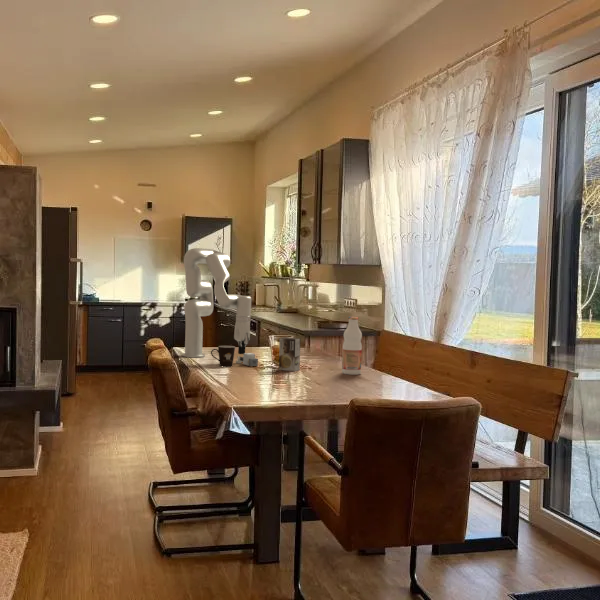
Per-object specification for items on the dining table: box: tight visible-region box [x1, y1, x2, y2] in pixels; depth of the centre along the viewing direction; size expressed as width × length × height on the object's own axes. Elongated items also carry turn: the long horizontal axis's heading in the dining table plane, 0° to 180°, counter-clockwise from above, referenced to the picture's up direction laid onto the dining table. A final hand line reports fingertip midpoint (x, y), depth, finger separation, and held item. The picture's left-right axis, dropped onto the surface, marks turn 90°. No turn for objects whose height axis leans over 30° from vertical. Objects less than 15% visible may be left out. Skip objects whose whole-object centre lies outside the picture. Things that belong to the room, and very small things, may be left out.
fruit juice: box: [341, 316, 363, 376], centre depth 357 cm, size 9×9×28 cm
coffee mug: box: [210, 345, 236, 368], centre depth 368 cm, size 12×9×10 cm
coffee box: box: [278, 336, 301, 372], centre depth 362 cm, size 9×6×16 cm
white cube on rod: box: [242, 352, 256, 366], centre depth 374 cm, size 4×4×6 cm
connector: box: [248, 357, 259, 367], centre depth 370 cm, size 2×4×4 cm, turn 121°
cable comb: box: [235, 355, 243, 364], centre depth 382 cm, size 1×6×4 cm, turn 121°
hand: (241, 353), depth 381 cm, fingers closed
